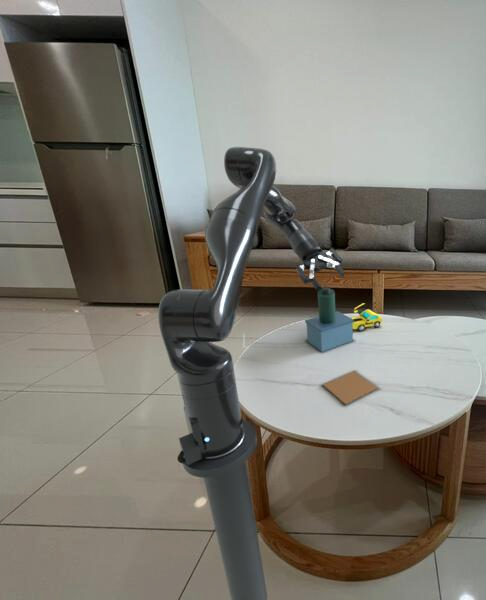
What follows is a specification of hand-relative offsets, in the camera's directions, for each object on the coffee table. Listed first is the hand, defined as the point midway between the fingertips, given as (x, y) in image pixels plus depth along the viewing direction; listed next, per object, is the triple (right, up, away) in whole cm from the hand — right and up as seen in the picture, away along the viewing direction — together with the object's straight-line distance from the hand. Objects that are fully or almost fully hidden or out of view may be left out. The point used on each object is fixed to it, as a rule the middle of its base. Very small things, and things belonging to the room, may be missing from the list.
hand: (331, 282), depth 101 cm
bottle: (-2, -12, +3) cm, 12 cm away
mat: (+8, -28, -17) cm, 34 cm away
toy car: (+9, -16, +18) cm, 25 cm away
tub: (-2, -19, +6) cm, 20 cm away
